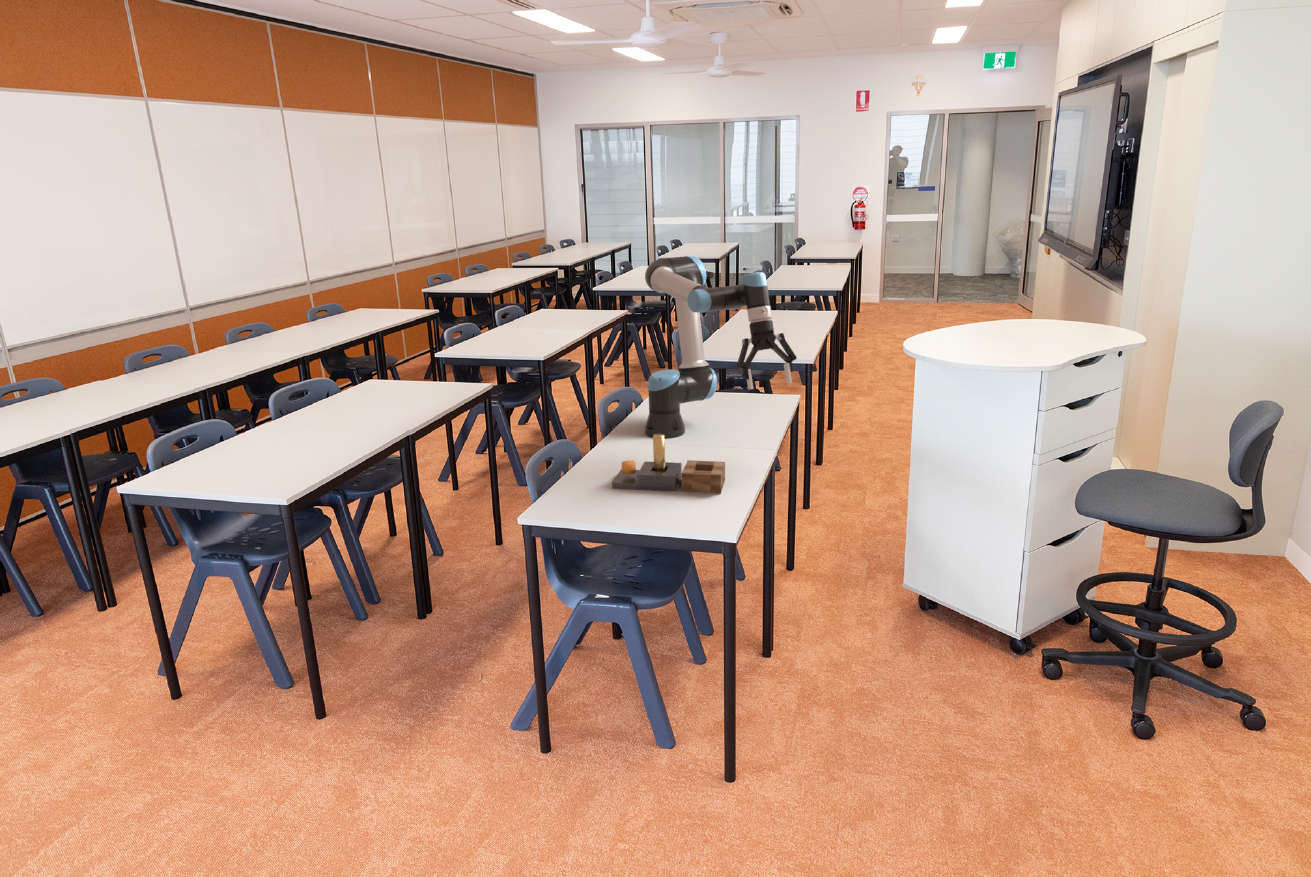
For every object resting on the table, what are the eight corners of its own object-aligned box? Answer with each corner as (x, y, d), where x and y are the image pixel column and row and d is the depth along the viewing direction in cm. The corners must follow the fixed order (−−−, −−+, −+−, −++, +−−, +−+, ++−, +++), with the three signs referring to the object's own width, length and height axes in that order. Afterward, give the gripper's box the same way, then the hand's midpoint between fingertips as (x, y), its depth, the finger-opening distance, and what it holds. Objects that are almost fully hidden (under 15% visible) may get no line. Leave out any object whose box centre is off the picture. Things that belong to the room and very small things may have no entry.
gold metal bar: (655, 481, 253) (654, 433, 248) (666, 481, 252) (665, 433, 247) (653, 485, 250) (651, 437, 245) (664, 485, 249) (663, 437, 244)
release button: (623, 469, 254) (623, 460, 253) (637, 469, 253) (636, 460, 253) (620, 473, 250) (620, 465, 249) (634, 474, 249) (633, 465, 248)
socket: (621, 474, 259) (620, 460, 258) (681, 477, 256) (681, 462, 254) (612, 488, 248) (611, 473, 247) (675, 491, 244) (675, 476, 243)
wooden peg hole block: (687, 477, 255) (687, 460, 253) (725, 479, 253) (725, 461, 251) (681, 491, 244) (681, 473, 242) (720, 493, 242) (720, 475, 240)
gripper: (728, 324, 250) (738, 391, 251) (800, 314, 256) (810, 379, 257) (720, 327, 257) (730, 392, 258) (790, 317, 263) (800, 381, 264)
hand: (770, 386), depth 258 cm, fingers open, 13 cm apart
